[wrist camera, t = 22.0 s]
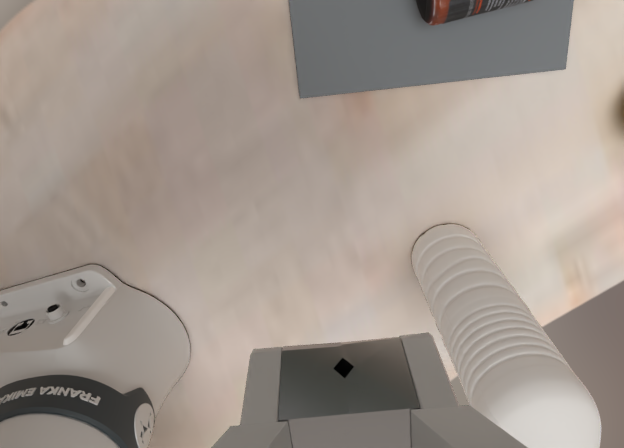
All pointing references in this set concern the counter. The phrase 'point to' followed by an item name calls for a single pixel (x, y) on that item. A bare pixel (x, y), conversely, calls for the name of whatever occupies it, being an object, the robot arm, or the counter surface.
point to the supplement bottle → (459, 9)
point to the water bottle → (501, 345)
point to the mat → (421, 44)
